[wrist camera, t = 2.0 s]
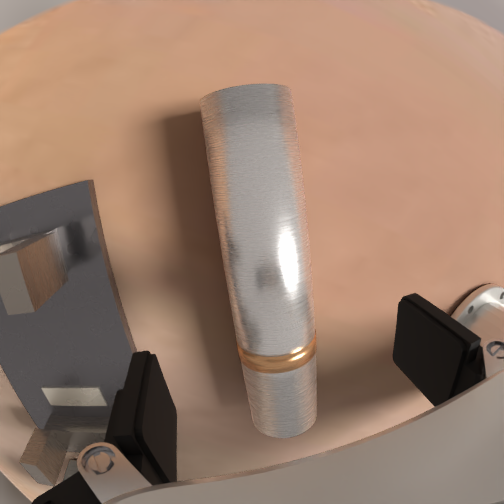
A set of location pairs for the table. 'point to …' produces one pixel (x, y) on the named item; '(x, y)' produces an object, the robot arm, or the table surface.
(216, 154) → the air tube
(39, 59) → the table surface
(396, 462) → the robot arm
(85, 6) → the table surface
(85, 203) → the plate with corner blocks
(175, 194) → the table surface
